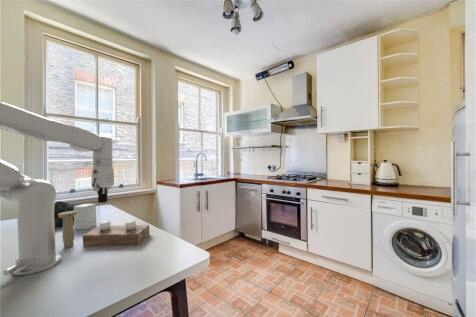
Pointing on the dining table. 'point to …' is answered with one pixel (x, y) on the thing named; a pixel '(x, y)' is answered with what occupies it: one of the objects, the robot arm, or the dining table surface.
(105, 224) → the knob
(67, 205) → the squash
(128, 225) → the knob
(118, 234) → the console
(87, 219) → the supplement box
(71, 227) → the handle
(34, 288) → the dining table surface
